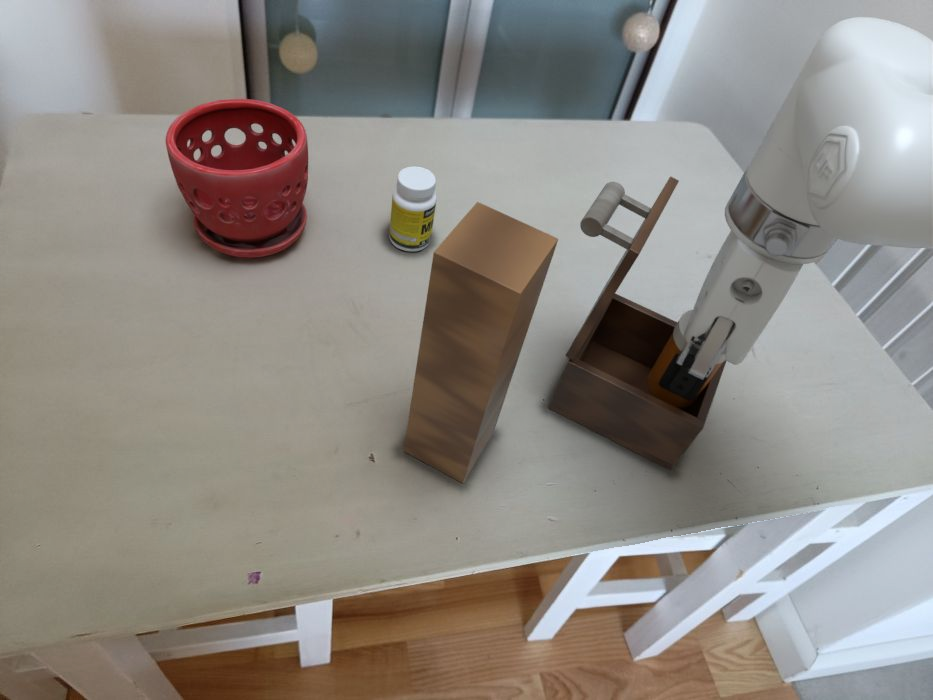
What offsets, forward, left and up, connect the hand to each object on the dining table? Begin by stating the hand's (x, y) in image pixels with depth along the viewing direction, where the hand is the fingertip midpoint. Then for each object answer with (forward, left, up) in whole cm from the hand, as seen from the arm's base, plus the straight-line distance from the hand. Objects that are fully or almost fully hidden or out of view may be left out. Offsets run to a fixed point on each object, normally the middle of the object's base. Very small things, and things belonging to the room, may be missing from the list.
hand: (684, 368), depth 61 cm
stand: (+16, +14, -8) cm, 22 cm away
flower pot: (+47, +2, -8) cm, 48 cm away
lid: (+8, 0, +7) cm, 11 cm away
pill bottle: (0, 0, -3) cm, 3 cm away
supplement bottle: (+32, -7, -8) cm, 34 cm away
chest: (+3, 0, -8) cm, 8 cm away
